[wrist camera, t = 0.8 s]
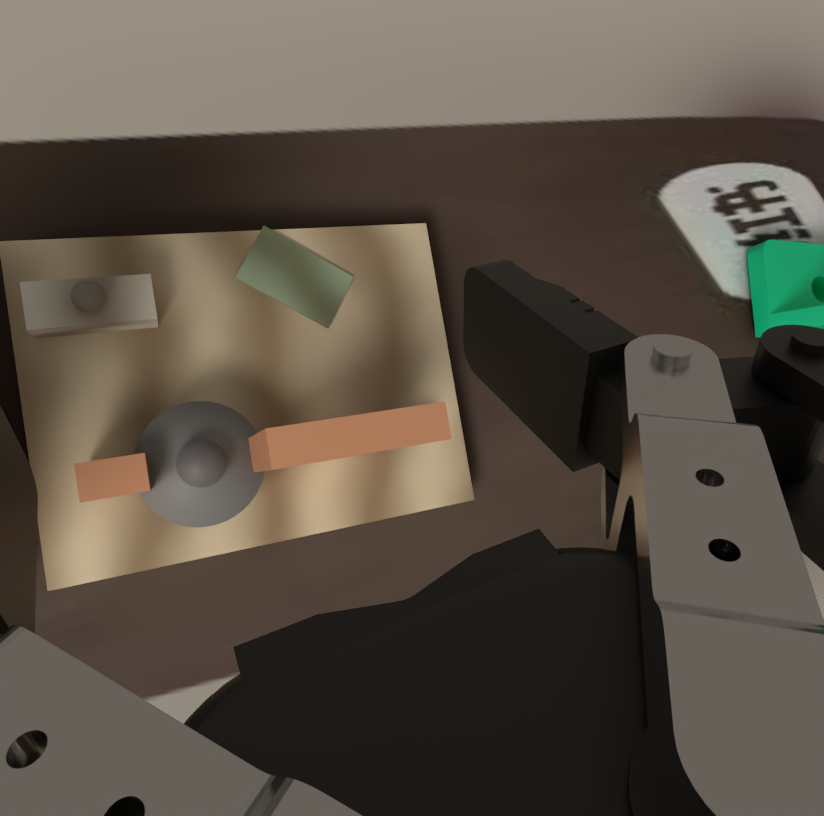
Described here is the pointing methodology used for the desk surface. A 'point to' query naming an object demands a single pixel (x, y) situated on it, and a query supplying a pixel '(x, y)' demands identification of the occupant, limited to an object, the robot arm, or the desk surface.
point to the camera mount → (786, 284)
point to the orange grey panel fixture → (240, 456)
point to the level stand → (226, 377)
